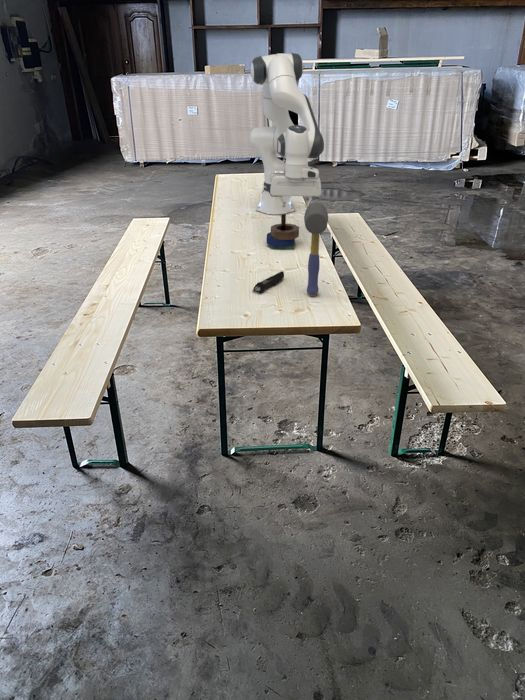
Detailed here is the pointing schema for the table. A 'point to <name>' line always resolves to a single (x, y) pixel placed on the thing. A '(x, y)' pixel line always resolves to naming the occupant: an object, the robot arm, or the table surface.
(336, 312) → the table surface
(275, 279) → the electric trimmer
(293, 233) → the walnut ring
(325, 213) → the rubber mallet
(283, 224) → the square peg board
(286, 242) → the navy ring
